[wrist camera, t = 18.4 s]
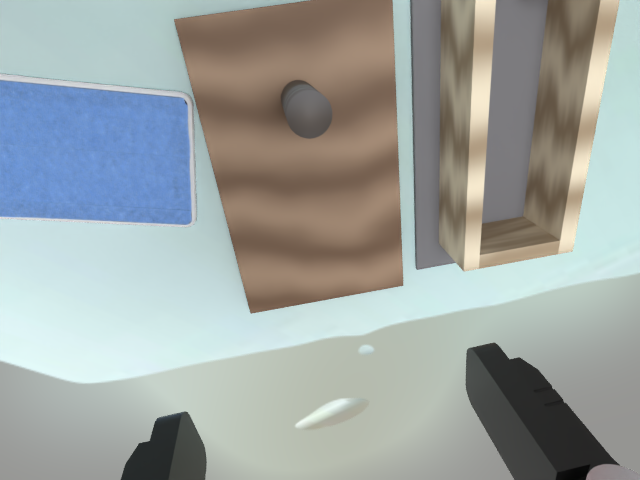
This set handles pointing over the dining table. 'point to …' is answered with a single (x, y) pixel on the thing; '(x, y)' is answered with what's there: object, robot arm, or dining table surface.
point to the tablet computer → (96, 153)
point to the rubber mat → (503, 123)
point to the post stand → (302, 144)
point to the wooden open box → (548, 132)
